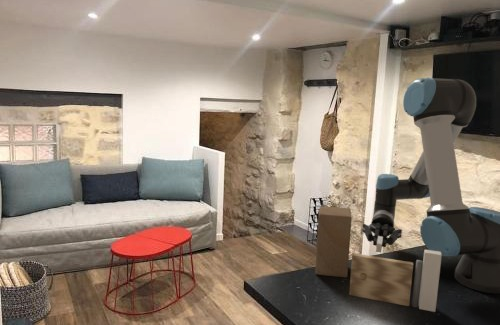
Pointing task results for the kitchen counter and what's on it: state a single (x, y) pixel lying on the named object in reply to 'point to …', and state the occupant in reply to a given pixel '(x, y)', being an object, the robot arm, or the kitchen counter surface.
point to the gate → (381, 279)
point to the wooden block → (333, 241)
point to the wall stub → (427, 281)
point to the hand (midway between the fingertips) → (378, 247)
